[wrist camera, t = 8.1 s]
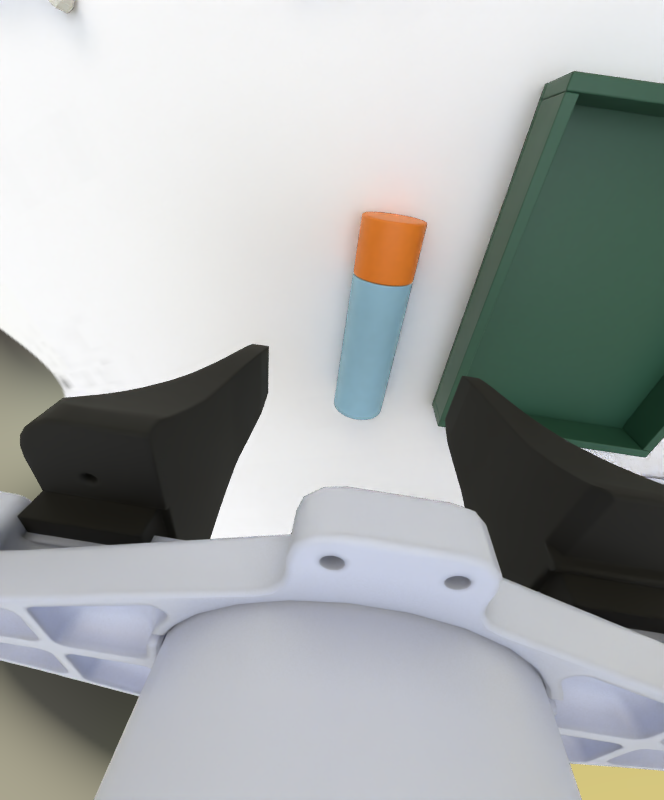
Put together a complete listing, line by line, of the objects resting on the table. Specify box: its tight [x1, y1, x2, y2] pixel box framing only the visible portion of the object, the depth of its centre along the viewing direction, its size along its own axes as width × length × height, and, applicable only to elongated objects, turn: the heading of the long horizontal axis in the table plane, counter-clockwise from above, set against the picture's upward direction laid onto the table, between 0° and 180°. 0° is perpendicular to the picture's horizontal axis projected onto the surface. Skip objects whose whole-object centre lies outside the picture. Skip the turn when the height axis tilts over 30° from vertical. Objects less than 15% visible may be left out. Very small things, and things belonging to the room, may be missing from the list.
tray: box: [432, 71, 664, 457], centre depth 16 cm, size 15×12×2 cm
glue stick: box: [334, 212, 427, 420], centre depth 17 cm, size 10×3×3 cm
